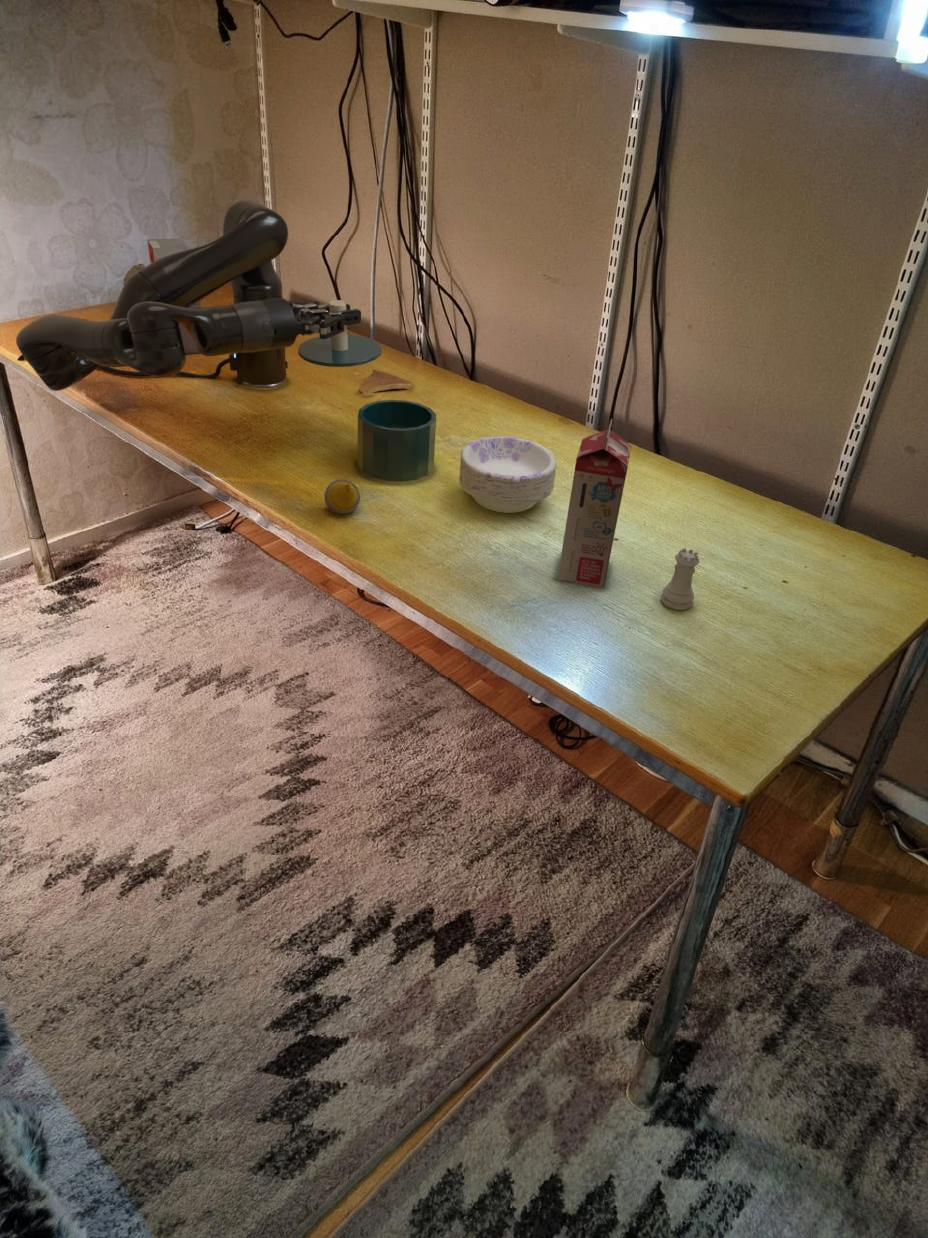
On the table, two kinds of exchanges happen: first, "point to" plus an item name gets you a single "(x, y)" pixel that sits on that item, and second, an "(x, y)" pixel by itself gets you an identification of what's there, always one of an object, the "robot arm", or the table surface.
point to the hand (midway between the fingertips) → (354, 313)
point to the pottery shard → (383, 382)
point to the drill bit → (342, 497)
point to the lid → (339, 347)
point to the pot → (396, 440)
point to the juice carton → (594, 508)
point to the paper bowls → (507, 473)
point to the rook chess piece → (681, 582)
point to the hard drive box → (160, 250)
